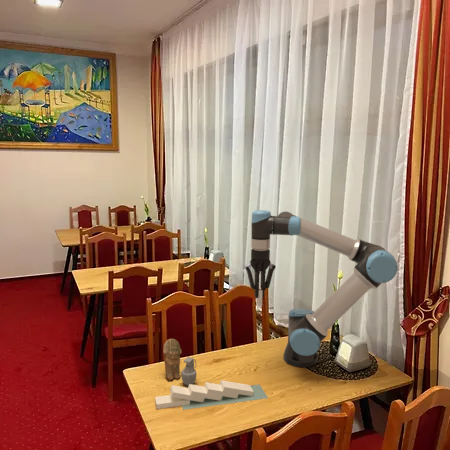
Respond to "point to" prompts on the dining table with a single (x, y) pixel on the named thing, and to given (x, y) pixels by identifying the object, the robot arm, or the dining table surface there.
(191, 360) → the hand grenade
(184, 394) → the domino
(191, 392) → the domino
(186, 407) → the strip
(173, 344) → the figurine
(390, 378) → the dining table surface
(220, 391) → the domino
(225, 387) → the domino
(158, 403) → the domino
